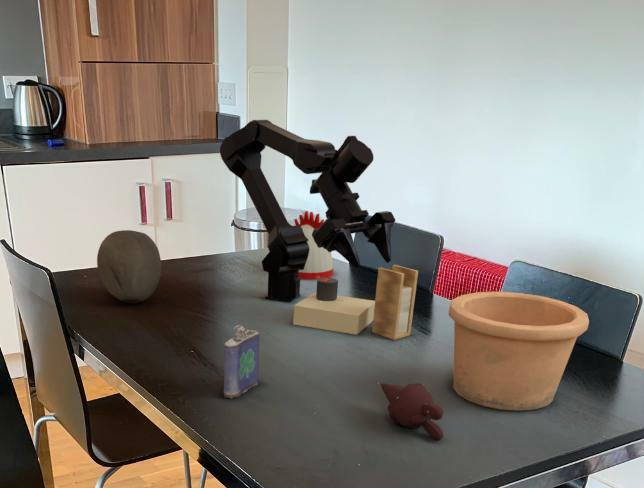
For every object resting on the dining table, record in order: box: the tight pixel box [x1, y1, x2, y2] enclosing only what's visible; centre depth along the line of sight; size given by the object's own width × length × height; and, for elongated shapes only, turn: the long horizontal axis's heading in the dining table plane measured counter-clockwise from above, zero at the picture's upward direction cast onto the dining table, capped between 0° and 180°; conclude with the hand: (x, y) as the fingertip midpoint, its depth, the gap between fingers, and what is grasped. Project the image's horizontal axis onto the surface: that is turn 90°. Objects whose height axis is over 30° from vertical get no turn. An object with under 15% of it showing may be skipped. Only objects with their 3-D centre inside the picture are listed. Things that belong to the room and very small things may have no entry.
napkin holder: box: [371, 264, 419, 341], centre depth 157 cm, size 6×5×13 cm
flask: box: [223, 324, 261, 399], centre depth 128 cm, size 9×3×11 cm, turn 151°
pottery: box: [448, 291, 590, 412], centre depth 130 cm, size 22×22×14 cm
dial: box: [315, 277, 339, 301], centre depth 166 cm, size 4×4×4 cm
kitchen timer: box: [293, 210, 334, 280], centre depth 198 cm, size 14×14×15 cm
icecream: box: [379, 382, 445, 441], centre depth 119 cm, size 7×7×15 cm
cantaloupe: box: [96, 229, 162, 305], centre depth 170 cm, size 14×14×15 cm
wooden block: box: [292, 291, 375, 336], centre depth 165 cm, size 14×13×4 cm
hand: (374, 264), depth 157 cm, fingers open, 9 cm apart
